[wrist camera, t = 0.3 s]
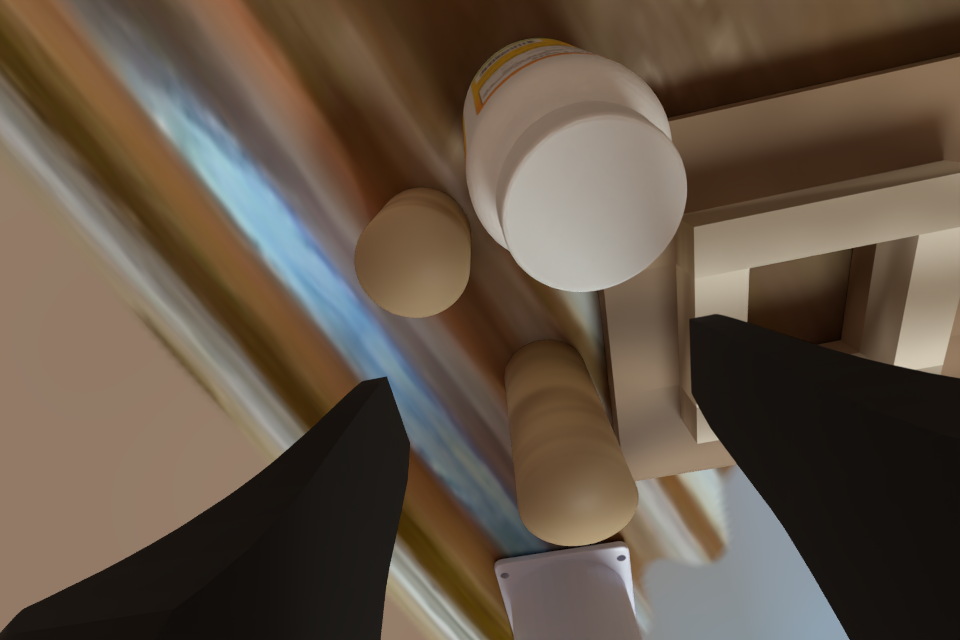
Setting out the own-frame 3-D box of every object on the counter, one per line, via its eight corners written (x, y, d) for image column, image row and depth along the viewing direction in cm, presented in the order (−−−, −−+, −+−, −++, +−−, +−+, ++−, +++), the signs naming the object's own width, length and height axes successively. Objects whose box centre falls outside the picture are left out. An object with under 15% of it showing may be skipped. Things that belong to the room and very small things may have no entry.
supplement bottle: (565, 204, 20) (640, 341, 12) (444, 162, 19) (436, 285, 11) (628, 69, 17) (782, 130, 9) (490, 10, 16) (526, 21, 8)
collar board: (929, 414, 24) (987, 454, 21) (617, 466, 25) (635, 510, 22) (1021, 39, 17) (1126, 26, 14) (581, 137, 18) (600, 143, 15)
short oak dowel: (479, 269, 20) (480, 306, 17) (392, 287, 21) (374, 327, 17) (459, 177, 19) (455, 195, 15) (364, 198, 19) (338, 221, 15)
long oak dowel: (590, 402, 23) (642, 536, 16) (512, 415, 24) (528, 553, 16) (581, 332, 22) (634, 447, 15) (497, 348, 22) (508, 468, 15)
